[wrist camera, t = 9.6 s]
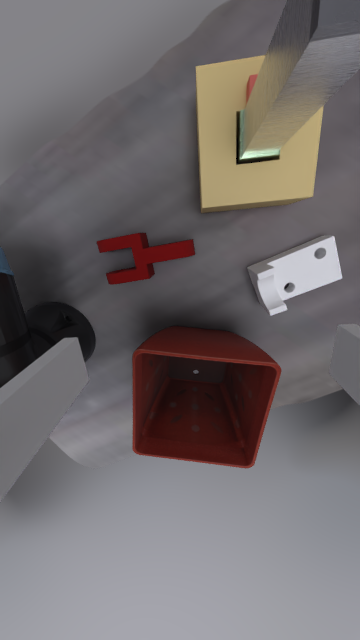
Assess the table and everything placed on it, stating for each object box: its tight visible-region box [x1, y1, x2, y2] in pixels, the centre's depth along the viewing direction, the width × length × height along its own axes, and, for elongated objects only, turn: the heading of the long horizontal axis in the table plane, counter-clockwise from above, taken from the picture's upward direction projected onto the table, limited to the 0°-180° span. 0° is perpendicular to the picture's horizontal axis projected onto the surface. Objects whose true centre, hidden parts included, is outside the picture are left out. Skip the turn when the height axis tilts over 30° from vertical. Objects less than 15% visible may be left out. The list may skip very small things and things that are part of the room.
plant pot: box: [132, 326, 281, 468], centre depth 39 cm, size 19×19×17 cm
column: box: [238, 0, 360, 163], centre depth 18 cm, size 5×5×21 cm
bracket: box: [247, 236, 342, 316], centre depth 36 cm, size 13×7×8 cm, turn 114°
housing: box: [196, 55, 323, 213], centre depth 29 cm, size 14×14×10 cm
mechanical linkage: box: [97, 233, 195, 284], centre depth 37 cm, size 16×7×5 cm, turn 100°
